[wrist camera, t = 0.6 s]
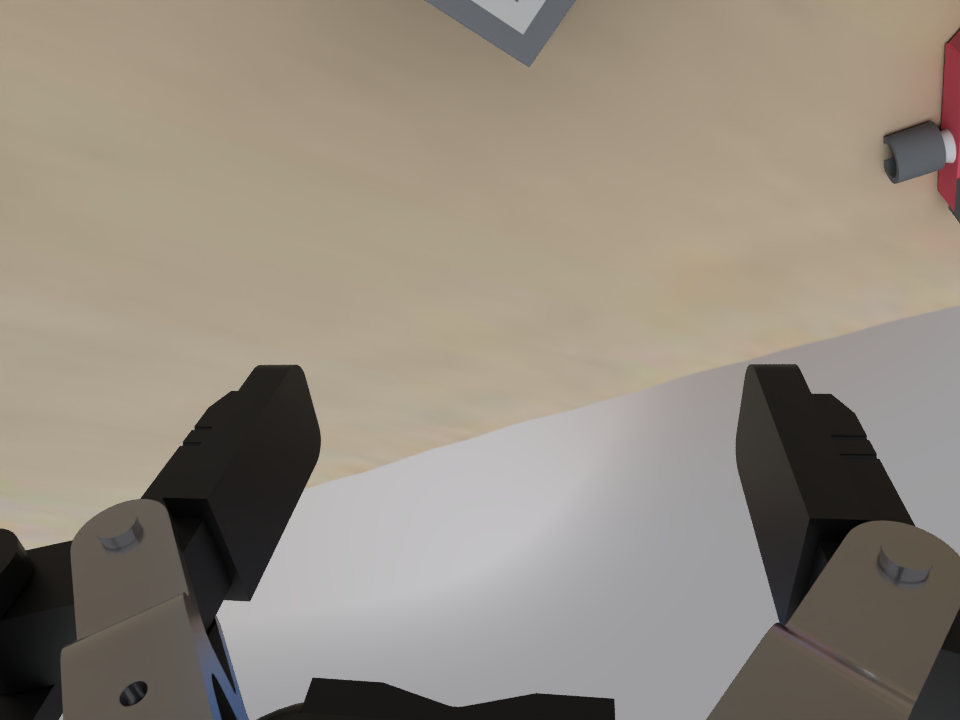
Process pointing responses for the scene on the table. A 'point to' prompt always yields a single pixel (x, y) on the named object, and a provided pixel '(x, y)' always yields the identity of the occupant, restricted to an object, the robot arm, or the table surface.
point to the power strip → (509, 22)
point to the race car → (934, 139)
